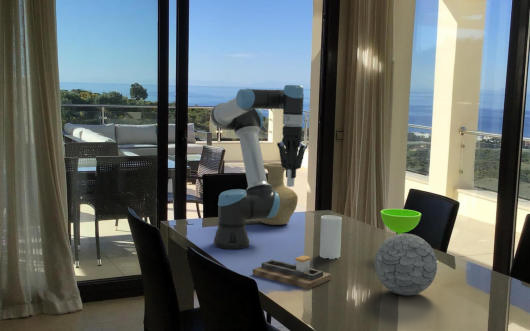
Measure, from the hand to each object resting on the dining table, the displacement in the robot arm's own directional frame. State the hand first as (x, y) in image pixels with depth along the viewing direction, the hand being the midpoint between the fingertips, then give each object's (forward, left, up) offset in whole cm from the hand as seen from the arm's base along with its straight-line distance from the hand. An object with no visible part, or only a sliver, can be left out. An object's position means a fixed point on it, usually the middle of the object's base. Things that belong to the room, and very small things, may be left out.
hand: (290, 186), depth 227 cm
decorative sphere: (+53, -9, -29) cm, 61 cm away
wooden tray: (+15, -19, -29) cm, 38 cm away
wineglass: (+32, +33, -29) cm, 54 cm away
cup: (+11, +14, -29) cm, 34 cm away
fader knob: (+19, -19, -27) cm, 38 cm away
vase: (-41, +47, -29) cm, 69 cm away
